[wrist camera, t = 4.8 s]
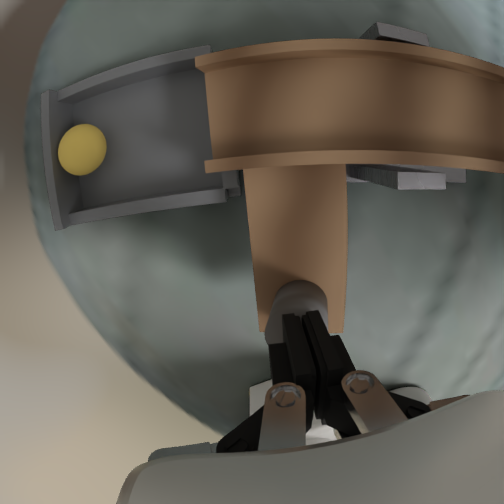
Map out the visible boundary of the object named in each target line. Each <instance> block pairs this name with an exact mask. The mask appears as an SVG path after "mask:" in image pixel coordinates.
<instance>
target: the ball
mask: <svg viewBox="0 0 504 504" xmlns="http://www.w3.org/2000/svg"><path fill="white" fill-rule="evenodd" d="M106 149H107V144H106V139H105V136H104V135H103V133H102V132H101V130H100V129H98V128H97V127H95V126H93V125H90V124H80V125H77V126H74V127H72V128H71V129H70V130H68V131H67V132H66V133H65V135H64V136H63V137H62V139H61V141H60V144H59V148H58V158H59V161H60V164H61V165H62V167H63V168H64V169H65V170H66V171H67V172H69V173H70V174H73V175H80V176H81V175H86V174H89V173H91V172H93V171H94V170H96V169H97V168H98V167H99V166H100V164H101V163H102V161H103V160H104V157H105V154H106Z"/></svg>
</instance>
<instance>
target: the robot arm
mask: <svg viewBox="0 0 504 504" xmlns="http://www.w3.org/2000/svg"><path fill="white" fill-rule="evenodd" d="M282 329H283V343H274V344H268V346H269V358H270V368H271V378H272V387H271V388H269V390H268V391H267V393H266V396H265V403H264V405H263V406H262V407H261V408H260V409H258V410H257V411H256V412H255V413H254V414H252V415H251V416H250V417H249V418H247V419H246V420H245V421H244V422H242V423H241V424H240V425H239V426H237V427H236V428H235V429H234V430H232V431H231V432H230V433H228V434H227V435H226V436H224V437H223V438H222V439H221V440H220V441H219V442H218V443H213V444H210V443H209V442H205V443H200V444H193V445H186V446H179V447H171V448H162V449H158V450H156V451H154V452H153V453H151V455H150V456H149V458H148V462H146V463H143V464H141V465H139V466H137V467H136V468H134V469H133V470H132V471H131V472H130V473H129V475H128V476H127V478H126V480H125V482H124V484H123V486H122V488H121V491H120V494H119V497H118V500H117V503H116V504H504V390H492V391H485V392H480V393H476V394H473V395H462V396H458V397H453V398H448V399H443V400H437V401H431V402H429V404H428V405H426V404H425V403H423V402H421V401H418V400H414V399H411V398H408V397H405V396H402V395H399V394H396V393H393V392H390V391H387V390H386V389H385V388H384V387H383V385H382V384H381V383H380V382H379V380H378V379H377V378H376V377H375V376H374V375H373V374H372V373H370V372H367V371H363V370H357V371H356V369H355V367H354V365H353V363H352V361H351V359H350V356H349V354H348V352H347V350H346V348H345V346H344V344H343V342H342V340H341V338H340V336H339V335H334V336H330V335H329V332H328V330H327V328H326V325H325V323H324V321H323V319H322V316H321V314H320V312H319V310H314V311H307V312H306V315H302V323H301V320H300V317H299V316H295V314H294V313H290V314H282ZM314 413H315V417H316V419H321V423H322V425H327V426H330V427H332V428H333V432H334V435H335V437H336V439H337V440H333V441H328V442H323V443H317V444H312V445H306V433H307V432H308V431H309V430H310V429H311V427H312V420H313V415H314Z"/></svg>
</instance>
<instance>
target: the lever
mask: <svg viewBox="0 0 504 504" xmlns="http://www.w3.org/2000/svg"><path fill="white" fill-rule="evenodd" d="M195 67H196V68H197V69H199V70H201V71H202V72H204V73H205V83H206V95H207V105H208V116H209V126H210V136H211V145H212V154H213V160H207V161H204V163H205V172H206V173H212V172H221V171H230V170H240V169H243V175H244V184H245V194H246V204H247V214H248V223H249V233H250V243H251V252H252V262H253V272H254V282H255V291H256V301H257V311H258V320H259V330H260V332H265V340H266V342H267V344H274V343H283V329H282V314H290V313H294V314H295V316H299V317H300V320H301V323H302V315H306V312H307V311H314V310H319V312H320V314H321V316H322V319H323V321H324V323H325V325H326V328H327V330H328V332H329V333H343V327H344V315H345V300H346V281H347V246H348V216H347V181H346V164H402V165H423V166H439V167H451V168H462V169H472V170H480V171H488V172H496V173H503V174H504V68H503V67H500V66H498V65H495V64H492V63H489V62H486V61H483V60H480V59H477V58H473V57H470V56H466V55H462V54H459V53H455V52H450V51H446V50H442V49H437V48H432V47H426V46H421V45H415V44H408V43H400V42H392V41H382V40H368V39H305V40H291V41H280V42H271V43H263V44H256V45H250V46H243V47H238V48H232V49H227V50H222V51H218V52H213V53H209V54H205V55H201V56H197V57H195Z"/></svg>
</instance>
